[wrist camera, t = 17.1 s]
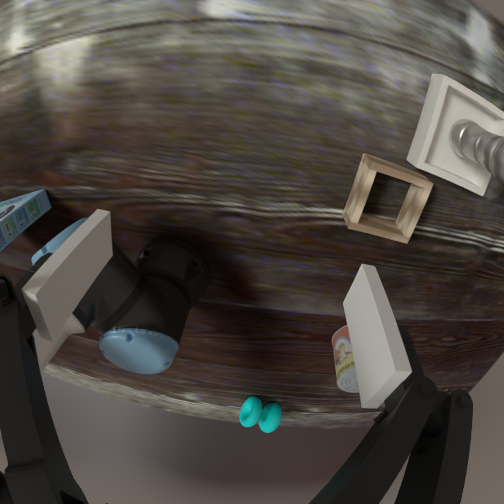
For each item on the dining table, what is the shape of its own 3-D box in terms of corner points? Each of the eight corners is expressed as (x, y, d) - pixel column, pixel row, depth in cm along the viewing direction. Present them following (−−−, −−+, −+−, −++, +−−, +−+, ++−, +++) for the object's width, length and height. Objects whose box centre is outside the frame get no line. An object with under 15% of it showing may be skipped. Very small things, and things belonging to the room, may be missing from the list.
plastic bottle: (478, 127, 38) (555, 166, 21) (464, 159, 41) (534, 210, 24) (452, 109, 37) (532, 140, 20) (438, 143, 41) (511, 189, 24)
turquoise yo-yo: (256, 390, 82) (253, 419, 74) (284, 399, 84) (283, 427, 76) (239, 402, 87) (236, 429, 79) (266, 410, 89) (264, 437, 81)
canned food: (350, 316, 63) (359, 358, 53) (386, 330, 65) (398, 370, 55) (322, 345, 69) (326, 387, 59) (358, 357, 71) (364, 396, 61)
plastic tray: (472, 187, 45) (482, 196, 41) (406, 159, 44) (415, 167, 41) (497, 112, 36) (510, 117, 32) (432, 73, 35) (443, 74, 32)
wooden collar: (398, 229, 51) (407, 243, 47) (342, 214, 51) (348, 228, 46) (421, 173, 45) (433, 183, 41) (363, 153, 44) (372, 161, 40)
